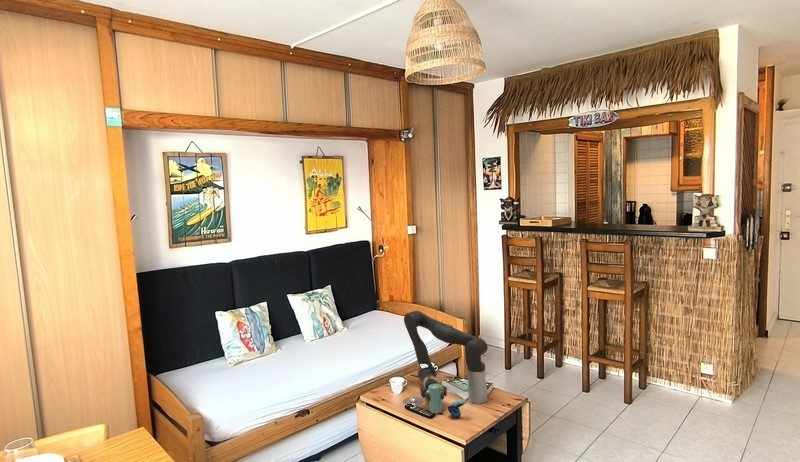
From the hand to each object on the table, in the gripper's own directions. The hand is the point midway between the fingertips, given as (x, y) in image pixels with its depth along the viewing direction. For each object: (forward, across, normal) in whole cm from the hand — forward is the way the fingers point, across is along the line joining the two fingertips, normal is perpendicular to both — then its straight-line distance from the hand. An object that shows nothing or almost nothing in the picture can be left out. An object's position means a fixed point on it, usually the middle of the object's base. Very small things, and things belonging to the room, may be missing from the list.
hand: (435, 398), depth 245 cm
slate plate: (-15, -10, +8) cm, 20 cm away
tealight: (-15, -10, +8) cm, 20 cm away
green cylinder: (-2, 0, +8) cm, 8 cm away
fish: (+6, +10, +9) cm, 14 cm away
